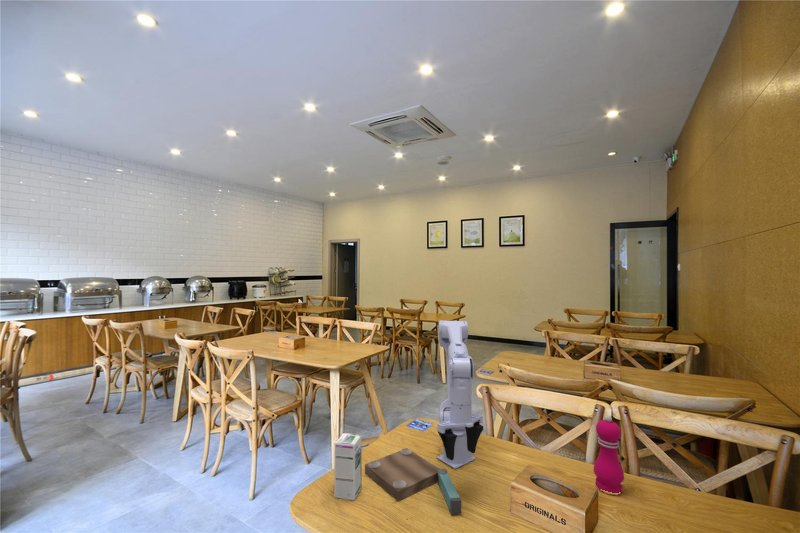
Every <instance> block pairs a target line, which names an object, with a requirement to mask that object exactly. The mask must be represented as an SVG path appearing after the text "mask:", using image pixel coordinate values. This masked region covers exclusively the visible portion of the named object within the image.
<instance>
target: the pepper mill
mask: <svg viewBox="0 0 800 533" xmlns="http://www.w3.org/2000/svg"><path fill="white" fill-rule="evenodd" d="M620 427H621V426H619V425H618V424H617V423H616V422H614V421H613V418H612V416H611V415H608V414H607V415H605V416H604V419H602V420H599V421H597V423H596V426H595V431H596V434H597V435H598V437H597V439H598V440H597V442H598V444H599V454H598V456H597V458H596V459H595V462H594V463H593V472H594V475H595V486H597V487H598V488H599V489H602V490H605V491H608V492H612V493H619V492H621V491H622V492H623V485H622V484H623V482H624V480H625V473H624V470H623V466H622V464H621V463H620V461H619V456H618V449H619V447H620V444H619V443H620V439H621V436H622V430H621V428H620ZM597 487H596V488H597ZM598 488H597V489H598ZM599 489H598V490H599Z"/></svg>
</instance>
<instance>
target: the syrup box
mask: <svg viewBox="0 0 800 533" xmlns="http://www.w3.org/2000/svg"><path fill="white" fill-rule="evenodd" d="M362 470H363V468H362V435H361V434H358V433H348V432H345V433H343V432H342V433H341V435H340V436H339V437H338V438H337V440H336V441H335V442H334V498H337V499H341V500H348V501H355V500H356V498H357V496H358V495H359V493H360V491H361V489H362V484H363V483H362V474H363V473H362Z"/></svg>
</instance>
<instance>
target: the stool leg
mask: <svg viewBox="0 0 800 533" xmlns="http://www.w3.org/2000/svg"><path fill="white" fill-rule="evenodd" d="M437 483H438V485H439V487H440V490H441V492H442V495H443V498H444V499H445V502H446V503H447V506H448V509H449V511H450V512H449V513H450V514H451V515H461V514H462V498H461V497H460V496H459V494H458V491H457V490H456V487H455V486H454V483H453V482H452V479H451V477H450V475H449V473H448V470H447V469H445V468H439V470H438V482H437Z"/></svg>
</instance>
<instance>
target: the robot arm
mask: <svg viewBox="0 0 800 533" xmlns="http://www.w3.org/2000/svg"><path fill="white" fill-rule="evenodd" d="M468 324H469V323H468V321H466V320H442V319H440V320H439V321H438V326H437V327H438V331H437V332H438V343H439V346H440V347H441V348H443V349H444V352H445V358H446V359H445V360H446V391H447V392H446V393H447V398H446V399H445V400H443V401H442V402H441V403H440V404H439V410H438V423H437V427H436V428H437V434H438V435H439V437H440V440H441V441H442V454H439V455H437V457H436V459H438V460H439V461H441V462H443V464H446V465H448V466H449V467H451V468H452V469H455V470H456V469H459V468H460V467H463V466H464V465H467V464H469V463H470V462H472V461H475V460H476V457H475V456H474V454H475V452H476V448H477V445H478V441H479V438H480V436H481V435H482V432H483V431H484V426H483V425H481V424H483V422H484V421H483V420H484V419H483V418H484V417H483V415H482V414H479V413H474V414H473V411H472V380H473V379H474V375H475V369H474V368H475V367H474V360H473V358H472V357H471V356H470V355H469V351H468V347H467V342H468V337H469V325H468Z"/></svg>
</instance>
